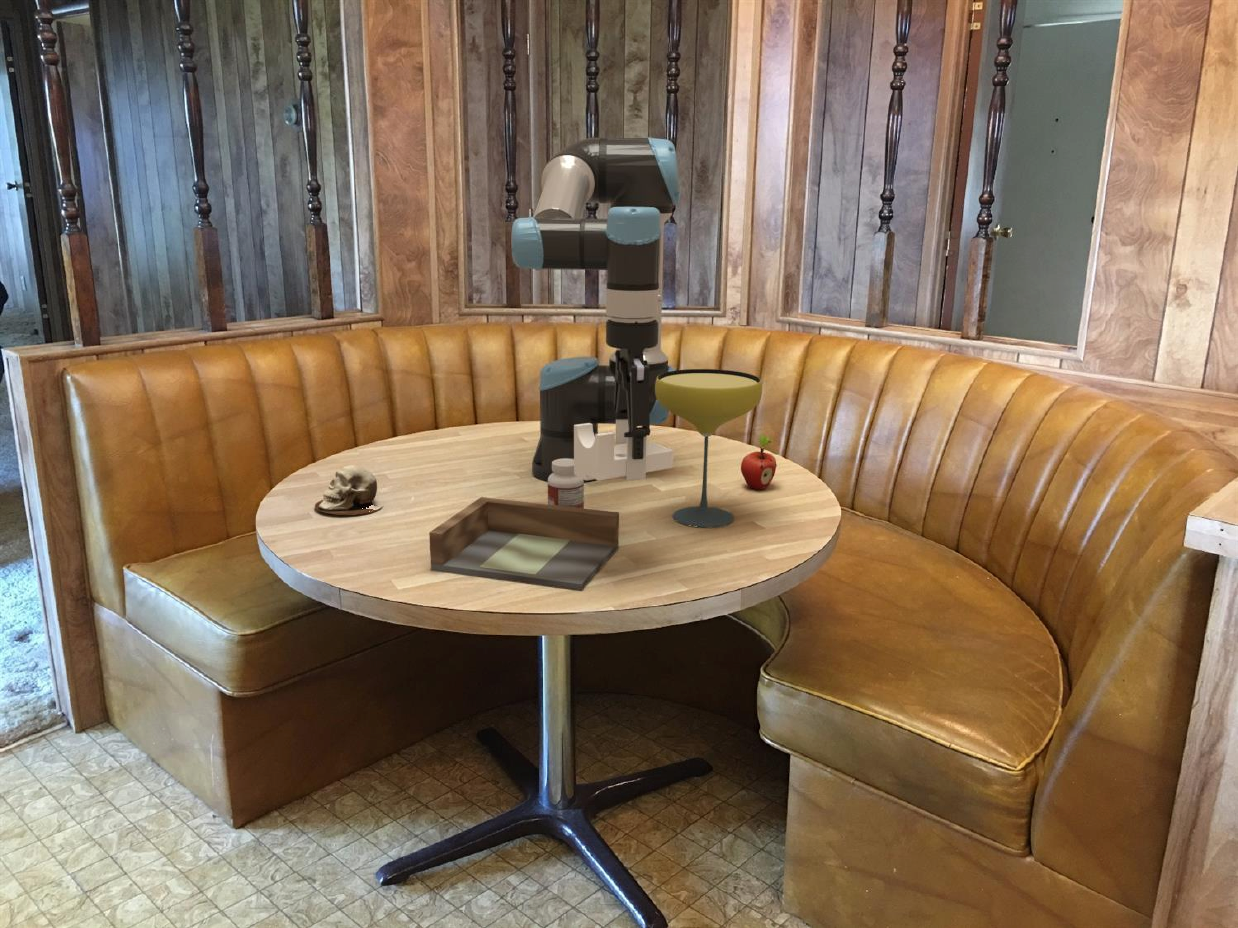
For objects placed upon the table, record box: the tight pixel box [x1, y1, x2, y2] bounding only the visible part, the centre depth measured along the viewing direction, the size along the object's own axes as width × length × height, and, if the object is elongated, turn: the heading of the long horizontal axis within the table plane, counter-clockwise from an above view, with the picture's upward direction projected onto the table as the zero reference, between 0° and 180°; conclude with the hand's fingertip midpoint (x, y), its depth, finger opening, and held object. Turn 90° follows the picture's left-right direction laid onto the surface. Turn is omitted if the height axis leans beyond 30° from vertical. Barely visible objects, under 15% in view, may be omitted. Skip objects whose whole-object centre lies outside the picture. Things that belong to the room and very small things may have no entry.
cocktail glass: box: [655, 368, 763, 528], centre depth 161 cm, size 18×18×25 cm
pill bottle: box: [547, 458, 585, 509], centre depth 159 cm, size 6×6×11 cm
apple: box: [740, 434, 778, 490], centre depth 181 cm, size 8×7×10 cm
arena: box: [428, 496, 620, 592], centre depth 144 cm, size 18×24×6 cm
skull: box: [314, 464, 378, 517], centre depth 168 cm, size 12×10×10 cm
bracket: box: [574, 423, 675, 481], centre depth 138 cm, size 13×7×8 cm, turn 122°
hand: (629, 469), depth 139 cm, fingers closed on bracket, 9 cm apart
